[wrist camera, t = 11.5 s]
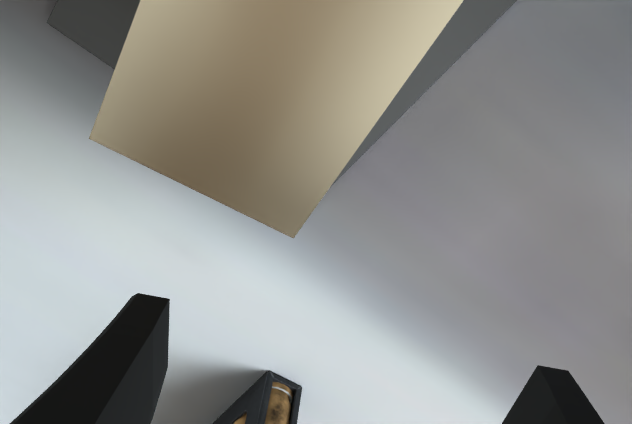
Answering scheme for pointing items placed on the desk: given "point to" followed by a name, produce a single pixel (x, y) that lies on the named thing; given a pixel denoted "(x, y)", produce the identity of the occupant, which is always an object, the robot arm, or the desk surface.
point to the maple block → (261, 93)
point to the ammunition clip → (265, 403)
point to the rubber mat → (454, 40)
